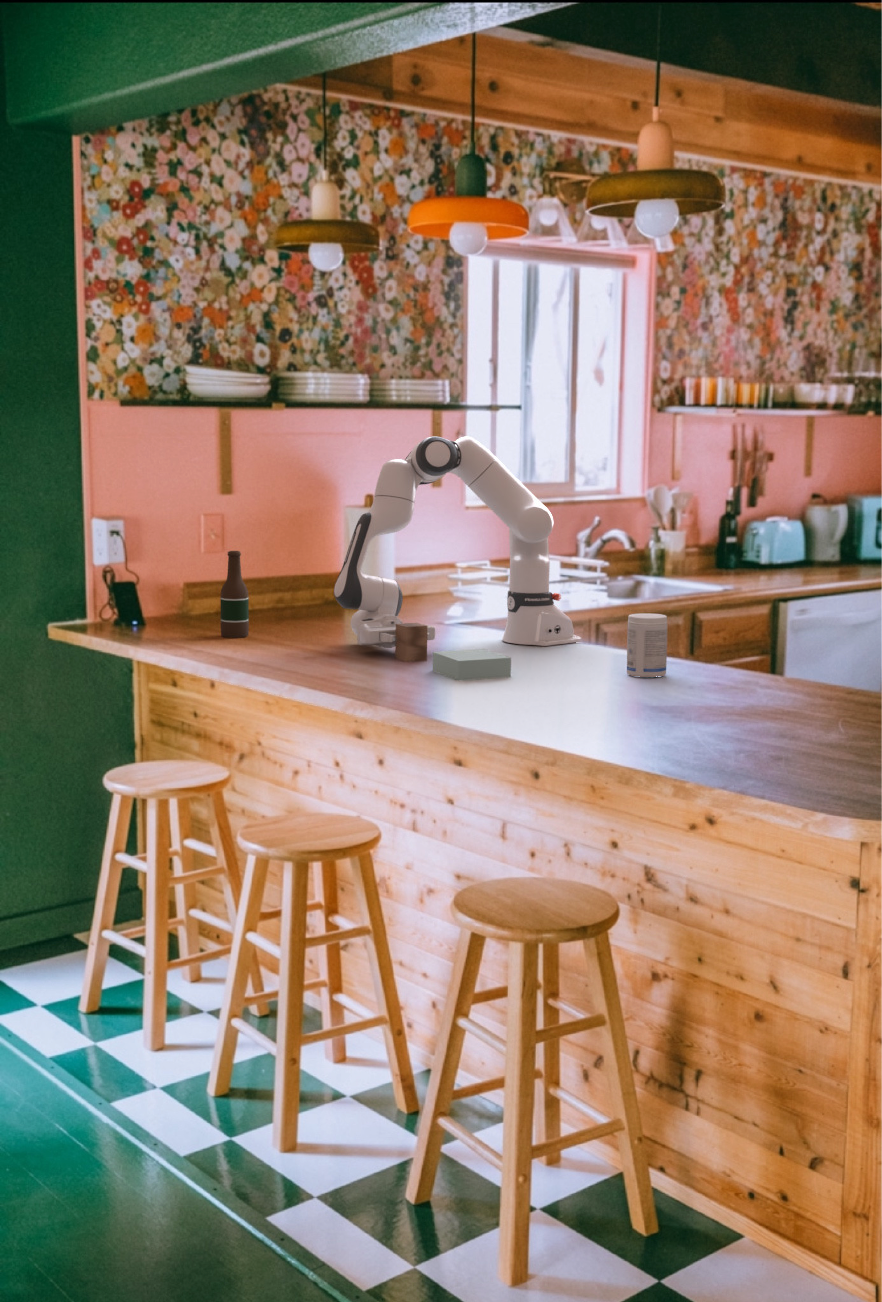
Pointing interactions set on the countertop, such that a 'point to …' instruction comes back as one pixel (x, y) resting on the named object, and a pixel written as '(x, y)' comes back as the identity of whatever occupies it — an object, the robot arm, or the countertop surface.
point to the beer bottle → (234, 601)
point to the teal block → (471, 664)
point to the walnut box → (411, 642)
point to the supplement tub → (647, 645)
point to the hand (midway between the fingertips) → (410, 637)
